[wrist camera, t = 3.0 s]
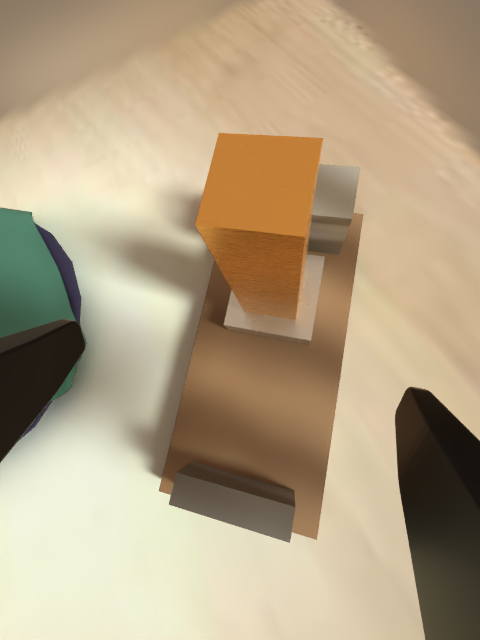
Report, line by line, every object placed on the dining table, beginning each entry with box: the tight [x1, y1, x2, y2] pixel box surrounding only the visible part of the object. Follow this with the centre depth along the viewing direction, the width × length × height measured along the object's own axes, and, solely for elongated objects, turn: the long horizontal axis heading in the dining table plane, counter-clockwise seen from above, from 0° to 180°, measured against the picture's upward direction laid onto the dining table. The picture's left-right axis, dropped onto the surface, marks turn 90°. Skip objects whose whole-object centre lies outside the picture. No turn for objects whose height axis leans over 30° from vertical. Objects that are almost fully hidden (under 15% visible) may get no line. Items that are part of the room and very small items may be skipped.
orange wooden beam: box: [195, 133, 325, 345], centre depth 14 cm, size 11×5×11 cm, turn 168°
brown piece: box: [159, 164, 363, 543], centre depth 17 cm, size 19×9×6 cm, turn 168°
